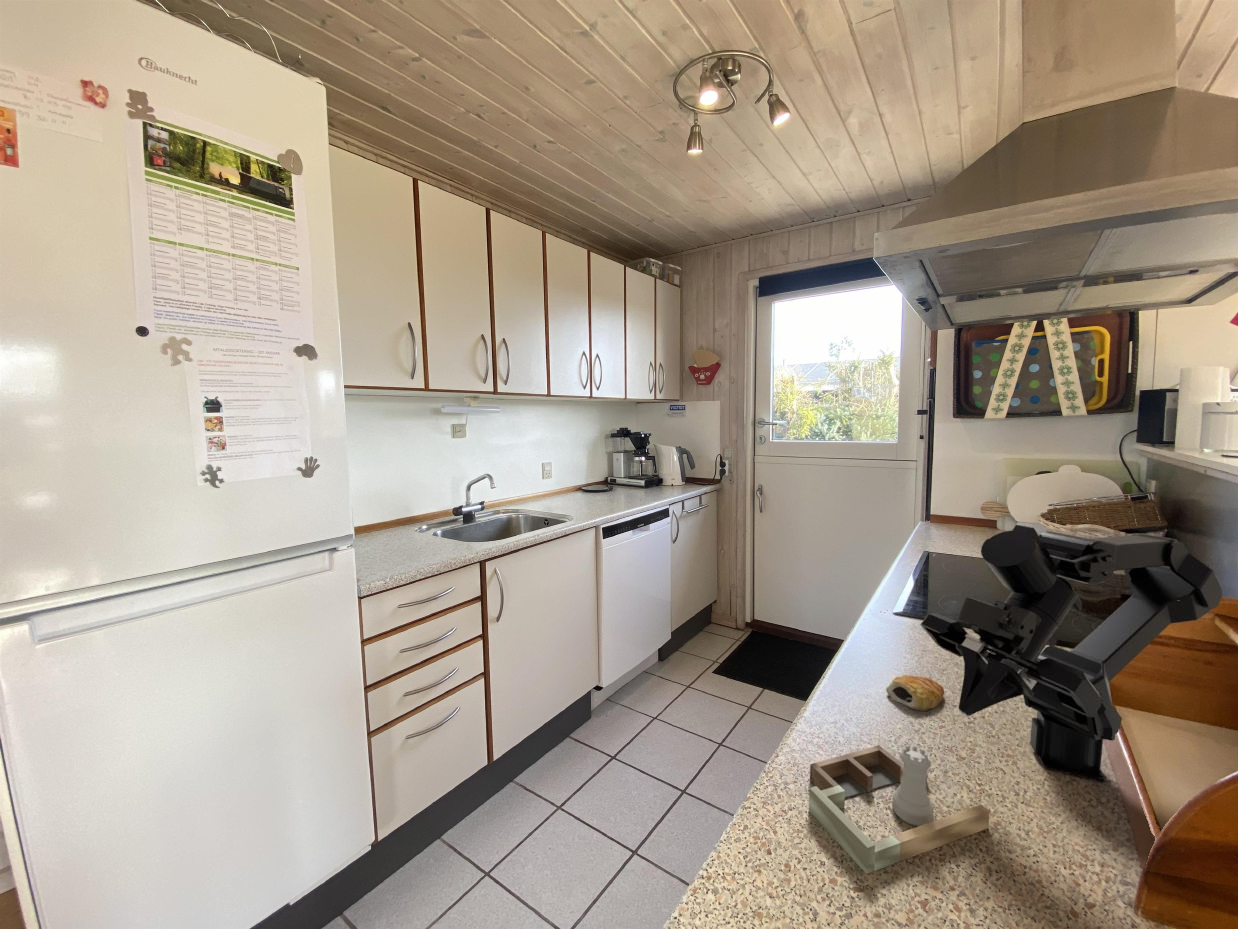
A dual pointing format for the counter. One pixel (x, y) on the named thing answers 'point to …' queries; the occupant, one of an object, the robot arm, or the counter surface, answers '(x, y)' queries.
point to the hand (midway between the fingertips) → (963, 712)
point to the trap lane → (866, 775)
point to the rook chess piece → (913, 789)
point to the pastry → (916, 692)
